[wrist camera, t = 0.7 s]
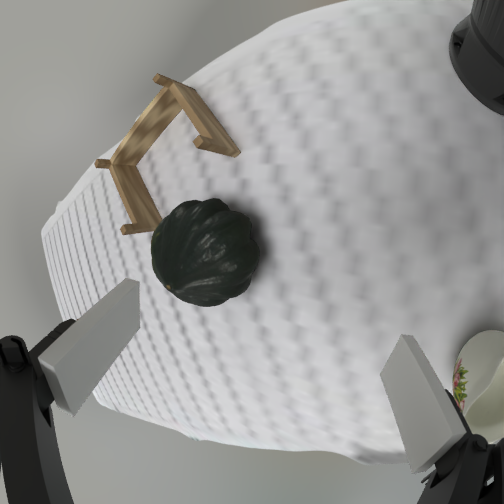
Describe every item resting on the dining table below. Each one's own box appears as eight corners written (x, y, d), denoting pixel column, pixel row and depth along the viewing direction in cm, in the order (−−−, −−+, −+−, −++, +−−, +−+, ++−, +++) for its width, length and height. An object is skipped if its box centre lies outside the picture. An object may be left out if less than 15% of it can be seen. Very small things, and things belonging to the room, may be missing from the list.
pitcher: (448, 414, 29) (452, 478, 17) (441, 314, 29) (460, 369, 17) (507, 393, 23) (527, 451, 11) (508, 289, 24) (553, 328, 12)
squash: (176, 172, 38) (108, 250, 31) (271, 189, 33) (204, 293, 25) (202, 235, 49) (155, 304, 42) (280, 259, 44) (236, 343, 36)
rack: (194, 89, 41) (157, 73, 33) (240, 152, 39) (203, 141, 31) (130, 165, 51) (94, 163, 43) (162, 229, 49) (122, 235, 41)
